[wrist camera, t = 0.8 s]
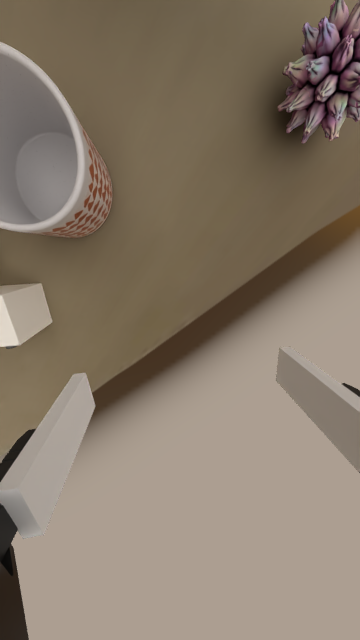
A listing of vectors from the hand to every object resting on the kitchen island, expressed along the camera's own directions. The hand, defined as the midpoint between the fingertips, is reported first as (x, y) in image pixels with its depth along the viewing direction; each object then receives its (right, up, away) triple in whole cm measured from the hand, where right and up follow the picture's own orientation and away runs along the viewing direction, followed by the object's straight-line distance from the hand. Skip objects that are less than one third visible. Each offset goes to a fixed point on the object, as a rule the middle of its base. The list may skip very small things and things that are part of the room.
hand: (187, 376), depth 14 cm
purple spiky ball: (+17, +35, +16) cm, 41 cm away
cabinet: (-26, +7, +21) cm, 34 cm away
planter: (-17, +23, +16) cm, 33 cm away
